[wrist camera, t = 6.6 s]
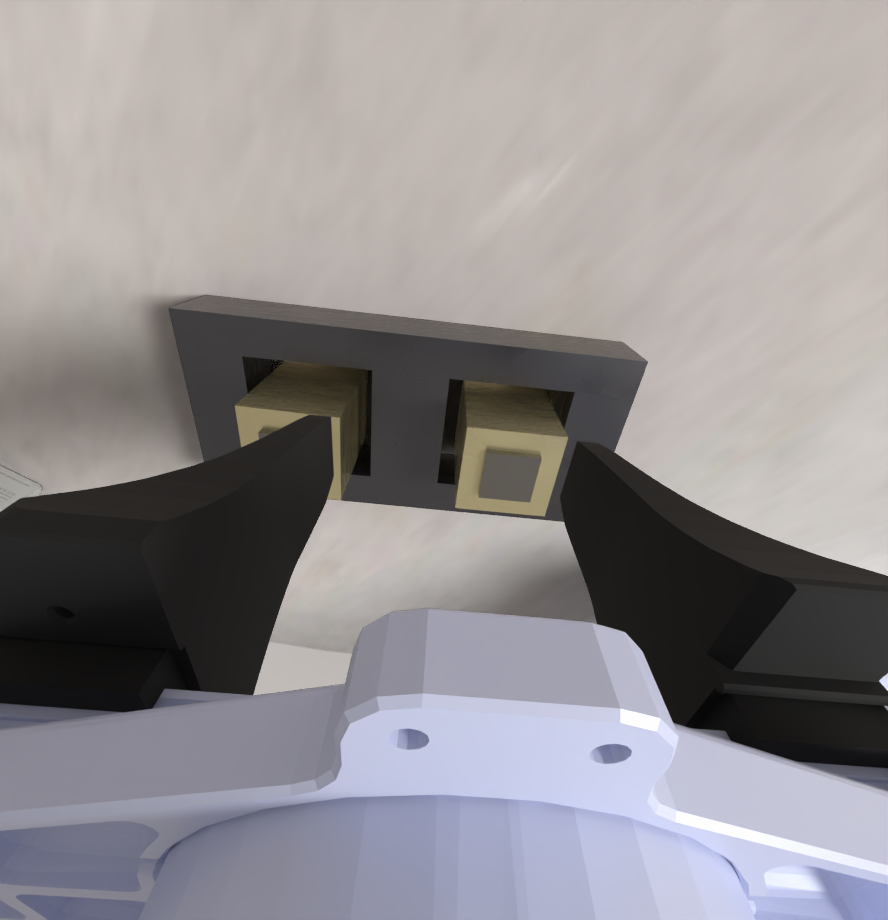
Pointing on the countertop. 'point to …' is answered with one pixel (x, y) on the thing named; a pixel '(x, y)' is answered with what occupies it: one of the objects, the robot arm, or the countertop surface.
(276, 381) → the block
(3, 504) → the supplement box
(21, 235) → the countertop surface
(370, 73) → the countertop surface
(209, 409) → the rail
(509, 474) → the seated nut
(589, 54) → the countertop surface
